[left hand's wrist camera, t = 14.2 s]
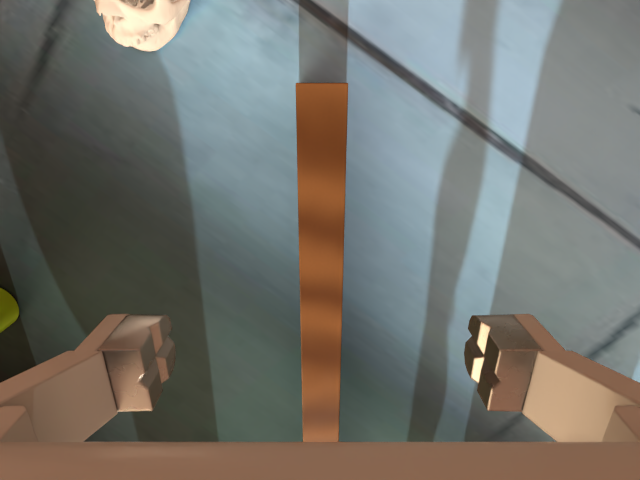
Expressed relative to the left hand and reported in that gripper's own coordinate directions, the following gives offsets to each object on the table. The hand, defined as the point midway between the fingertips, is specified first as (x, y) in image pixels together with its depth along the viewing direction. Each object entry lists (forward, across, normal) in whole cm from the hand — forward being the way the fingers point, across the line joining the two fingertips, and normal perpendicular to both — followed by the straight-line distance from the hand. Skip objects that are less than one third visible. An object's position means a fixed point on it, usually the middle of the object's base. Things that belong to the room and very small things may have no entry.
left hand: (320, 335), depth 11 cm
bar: (+32, 0, -30) cm, 44 cm away
